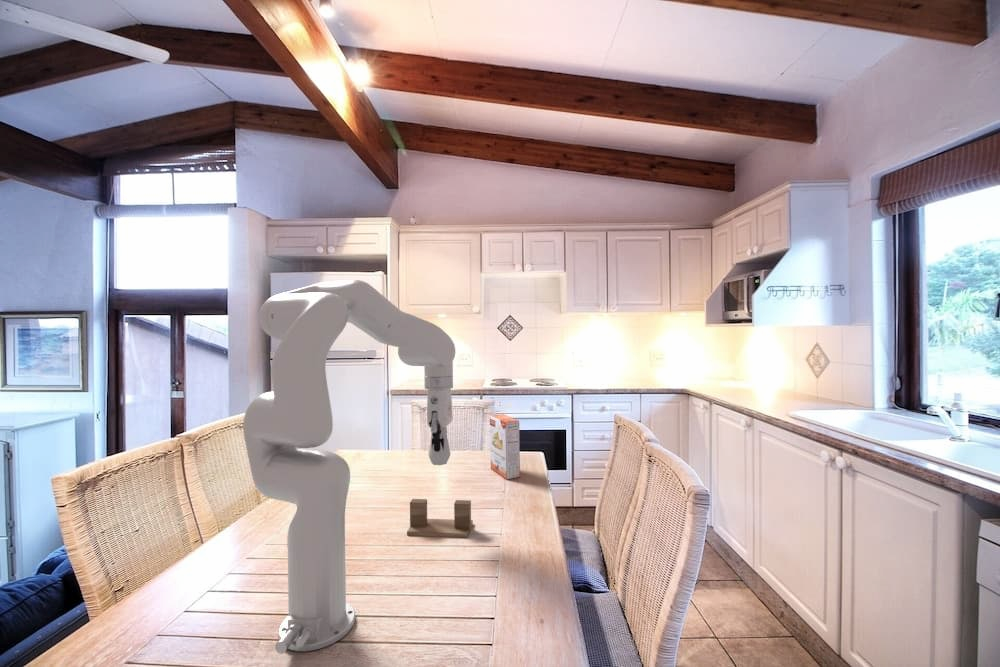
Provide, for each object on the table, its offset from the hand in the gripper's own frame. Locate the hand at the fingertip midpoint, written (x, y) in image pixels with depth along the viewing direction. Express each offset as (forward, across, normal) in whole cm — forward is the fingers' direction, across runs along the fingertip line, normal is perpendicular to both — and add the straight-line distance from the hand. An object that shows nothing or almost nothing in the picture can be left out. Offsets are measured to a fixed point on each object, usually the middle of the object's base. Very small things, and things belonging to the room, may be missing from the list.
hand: (439, 450), depth 117 cm
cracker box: (+21, +47, -13) cm, 53 cm away
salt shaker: (+3, 0, 0) cm, 3 cm away
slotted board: (+21, 0, 0) cm, 21 cm away
